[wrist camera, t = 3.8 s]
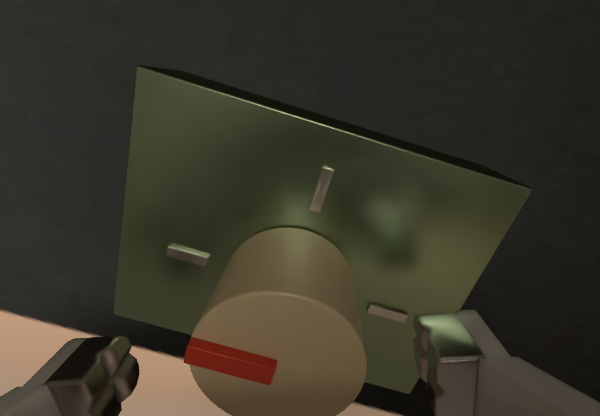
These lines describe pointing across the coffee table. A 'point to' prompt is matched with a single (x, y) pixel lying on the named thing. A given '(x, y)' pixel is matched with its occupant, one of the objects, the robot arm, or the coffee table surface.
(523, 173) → the coffee table surface
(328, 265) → the knob
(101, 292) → the coffee table surface
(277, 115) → the panel
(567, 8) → the coffee table surface
